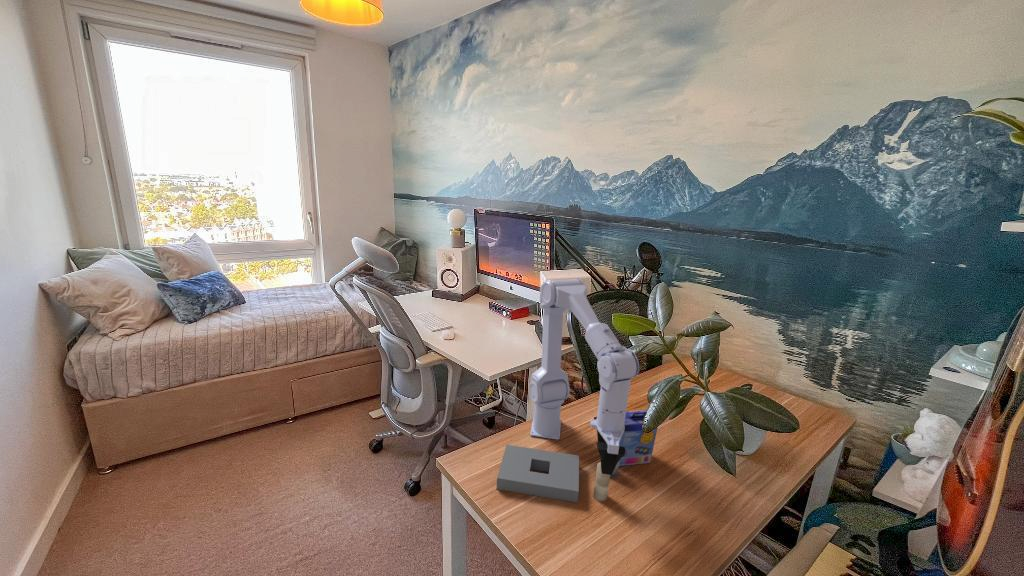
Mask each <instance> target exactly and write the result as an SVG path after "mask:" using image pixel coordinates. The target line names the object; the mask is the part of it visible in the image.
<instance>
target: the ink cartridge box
mask: <svg viewBox="0 0 1024 576" xmlns="http://www.w3.org/2000/svg"><path fill="white" fill-rule="evenodd" d="M647 411H648V410H646V409H645V410H637V411H636V410H635V411H630V412H629V411H626V416H625V423H624V426H625V430H624V433H623V435H622V438H621V440H620V442H619V446H621V447H625V451H626V452H625V455H624V456H623V457H622V458H621V459H620V463H619V467H621V466H631V465H633V466H634V465H641V464H642V465H643V464H650V463H651V461H652V457H653V456H652V455H653V451H654V446H655V442H656V437H657V433H658V428H659V427H657V428H655V429H654V430H652V431H651V432H649V433H645V432H643V430H642V425H643V420H644V417H645V415H646V413H647Z"/></svg>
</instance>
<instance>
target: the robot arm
mask: <svg viewBox="0 0 1024 576" xmlns="http://www.w3.org/2000/svg"><path fill="white" fill-rule="evenodd" d="M539 290H540V291H539V292H540V293H539V308H540V309H542V311H543V313H542V341H541V342H542V343H541V366H540V367H538V369H536V370H535V371H534V372H533V373H532V374H531V378H530V379H531V380H530V383H529V387H528V389H529V390H528V393H529V396H530V399H531V401H532V402H533V403H534V408H533V409H534V412H533V417H532V423H531V427H530V433H529V435H530V436H531V437H537V438H543V439H545V438H546V439H551V440H560V436H561V426H562V419H561V412H562V404H564V403H565V400H567V399H568V398H569V396H570V391H571V388H570V387H571V386H570V383H569V374H568V373H567V372H566V371H564V370H563V369H562V347H563V346H562V345H563V344H562V343H563V323H564V322H563V320H564V313H565V312H566V311H567V310H570V311H571V313H573V315H574V317H575V318H576V319H577V320H578V322H579V323H580V324H581V326H582V327H583V329H584V330H585V333H584V339H585V341H586V342H587V344H588V346H589V348H590V349H591V351H592V353H593V354H594V356H595V357H596V359H597V363H596V364H597V365H596V366H597V371H598V375H599V376H598V382H599V385H600V390H599V397H598V406H597V413H596V416H595V417H593V419H591V420H590V422H589V423H590V427H591V428H594V429H596V433H597V434H596V435H597V441H596V449H597V452H598V454H599V458H600V462H601V471H602V474H608V475H612V473H613V471H614V469H615V467H616V465H617V463H618V461H619V460H620V459H621V458H622V457H623V456H624V455H625V452H626V451H625V447H621V446H619V442H620V440H621V438H622V435H623V433H624V430H625V426H624V423H625V416H626V412H627V408H628V402H629V396H630V395H629V394H630V388H631V380H632V378H636V377H637V375H638V374H639V372H640V363H639V358H638V357H637V355H636V353H635V351H633V350H632V349H630V348H627V347H626V345H625V346H624V345H622V344H621V343H620V341H619V339H618V338H617V336H616V335H615V334H614V332H613V331H612V329H611V328H610V327H609V325H608V324H607V323H604V322H600V321H599V318H598V317H597V315H596V313H595V311H594V309H593V308H592V306H591V304H590V301H589V299H588V298H587V297H588V296H587V295H588V288H587V286H586V285H585V282H584V281H583V280H582V279H581V278H578V277H577V278H569V279H567V278H566V279H546V280H544V282H543V283H542V284H540V289H539Z"/></svg>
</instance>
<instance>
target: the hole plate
mask: <svg viewBox="0 0 1024 576" xmlns="http://www.w3.org/2000/svg"><path fill="white" fill-rule="evenodd" d="M532 470H534V471H532ZM537 471H540V472H537ZM541 472H543V473H541ZM544 472H545V473H544ZM579 488H580V455H577V454H571V453H563V452H557V451H551V450H545V449H544V450H543V449H538V448H537V449H536V448H530V447H526V446H525V447H524V446H519V445H512V444H506V446H505V448H504V452H503V455H502V460H501V463H500V467H499V470H498V473H497V477H496V490H499V491H500V490H501V491H506V492H509V493H518V494H522V495H528V496H536V497H540V498H547V499H553V500H557V501H558V500H559V501H565V502H570V503H576V504H577V503H578V500H579V492H580V489H579Z"/></svg>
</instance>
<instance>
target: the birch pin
mask: <svg viewBox="0 0 1024 576" xmlns="http://www.w3.org/2000/svg"><path fill="white" fill-rule="evenodd" d="M595 470H596V472H595V478H594V479H595V480H594V488H593V494H592V496H593V498H594V500H596V501H597V502H600V503H601V502H602V503H603V502H606V501H607V499H608V493H609V487H610V486H609V485H610V479H611V478H610V475H608V474H602V471H601V461H600V462H598V463H597V465H596V469H595Z"/></svg>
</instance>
